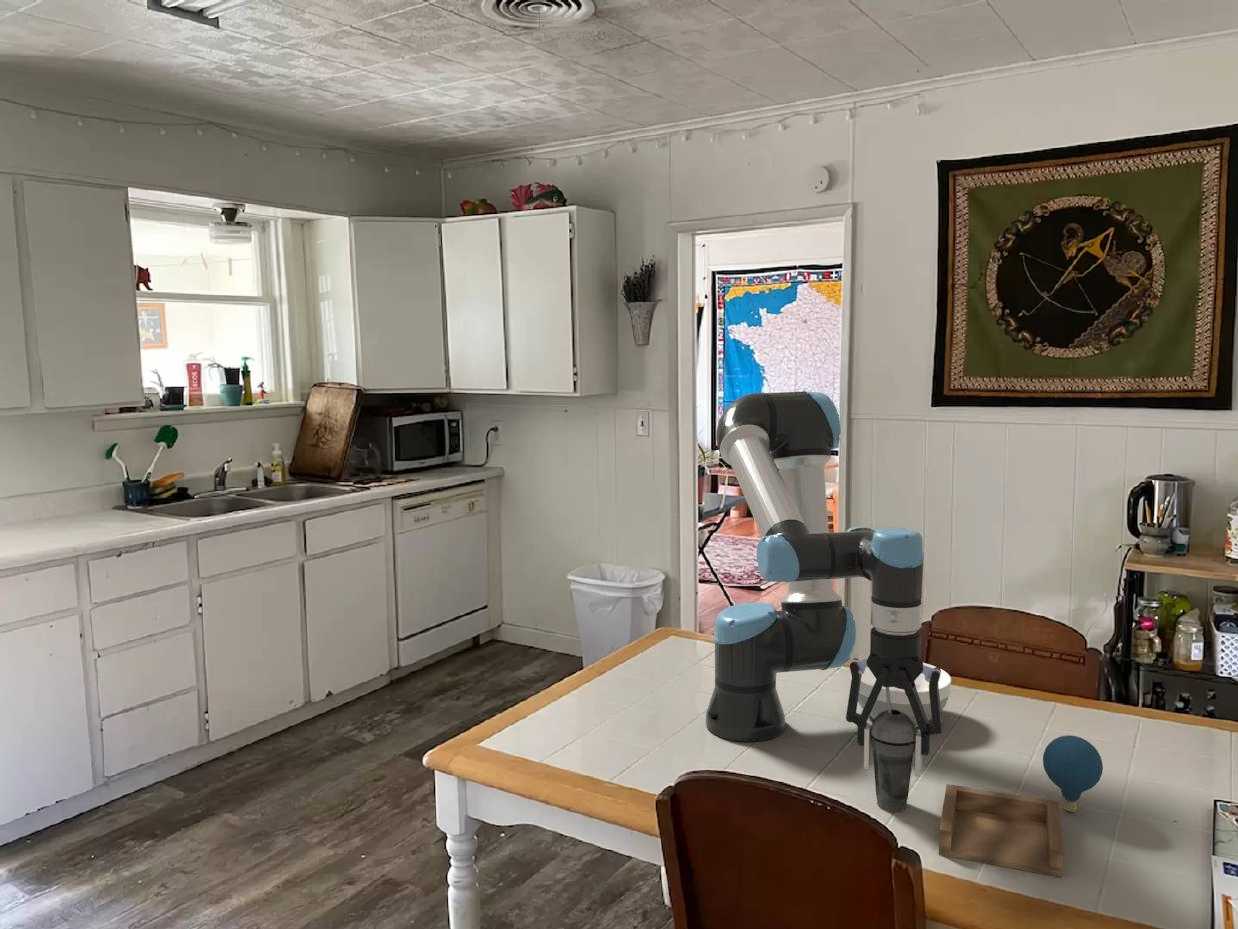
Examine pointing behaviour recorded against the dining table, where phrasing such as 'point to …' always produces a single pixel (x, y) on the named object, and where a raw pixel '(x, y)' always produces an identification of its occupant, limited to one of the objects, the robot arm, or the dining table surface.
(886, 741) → the beverage cup
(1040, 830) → the u rest
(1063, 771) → the light bulb
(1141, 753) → the dining table surface
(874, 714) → the bowl
